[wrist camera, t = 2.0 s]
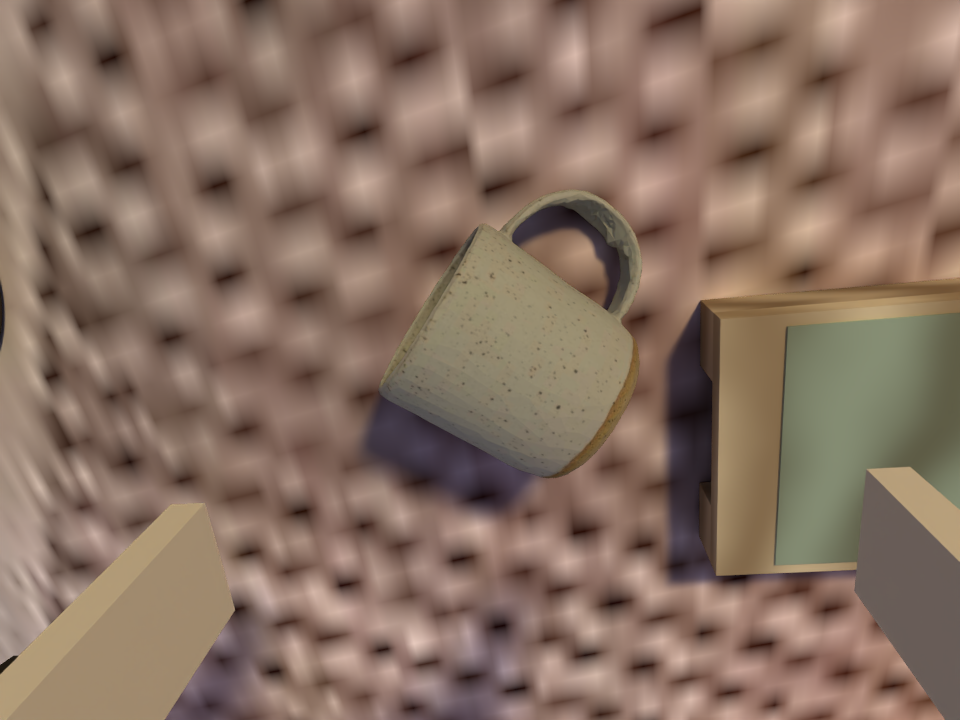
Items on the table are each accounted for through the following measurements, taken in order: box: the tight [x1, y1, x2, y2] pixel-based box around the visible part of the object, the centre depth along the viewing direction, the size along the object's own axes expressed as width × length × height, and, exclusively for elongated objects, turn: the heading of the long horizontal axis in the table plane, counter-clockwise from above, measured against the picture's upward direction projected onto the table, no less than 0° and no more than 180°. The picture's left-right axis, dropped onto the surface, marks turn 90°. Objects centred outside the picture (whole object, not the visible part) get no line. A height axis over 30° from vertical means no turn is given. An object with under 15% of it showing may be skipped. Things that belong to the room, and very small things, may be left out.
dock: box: [699, 278, 960, 576], centre depth 27 cm, size 16×12×3 cm
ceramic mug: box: [379, 190, 642, 478], centre depth 24 cm, size 11×8×8 cm
